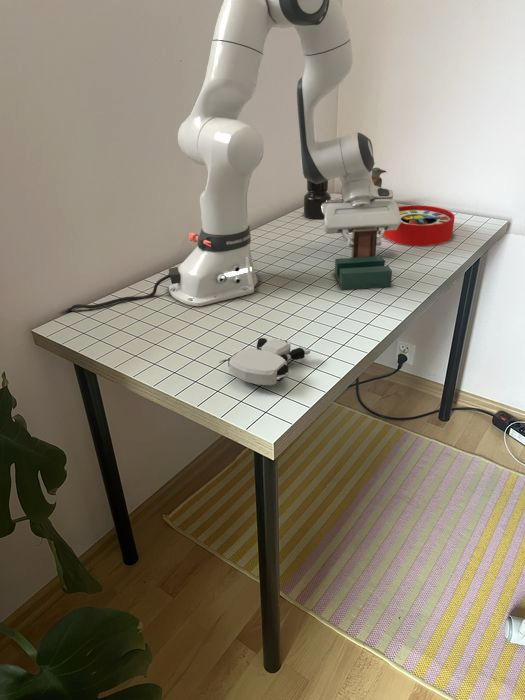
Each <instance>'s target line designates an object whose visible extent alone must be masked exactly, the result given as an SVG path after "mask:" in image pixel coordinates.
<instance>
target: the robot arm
mask: <svg viewBox="0 0 525 700" xmlns="http://www.w3.org/2000/svg"><path fill="white" fill-rule="evenodd" d="M272 28H280V29H290V28H294V29H295V31H296V33H297V34H298V36H299V39H300V45H301V49H302V54H303V59H304V69H303V70H304V71H303V73H302V76H301V77H300V78H299V79H298V81H297V85H296V86H297V87H296V105H297V117H298V130H299V142H300V168H301V169H300V170H301V172H302V175H303V177H304V179H306V181H307V180H309V181H311V182H313V183H315V184H319V183H322V182H325V181H328V182H329V180H333V179H336V178H339V180H340V182H341V188H340V189H341V190H340V193H341V198H338V199H331V200H326V202H324V203H323V204H322V205H321V210H322V214H323V215H324V218H323V231H324V232H325V233H326V234H327V235H333V234H334V235H335V234H341V238H342V239H343V240H344V241H345V242H346V245H347V246H346V247H347V248H352V247H353V246H354V242H353V239H352V238H350V236H349V235H348V234H350V233H351V234H353V229H367V228H376V229H377V235H378V236H377V242H376V247H377V246H378V247H380V246H382V243H383V241H382V237H383V236H384V235H383V233H384V231H388V230H396V229H397V228H398V227H399V225H400V223H401V216H400V212H399V208H398V207H399V205H398V203H397V201H396V200H394V191H393V189H389V188H386V187H382V186H381V187H378V186H375V185H374V183H373V181H372V178H371V176H372V169H373V168H375V167H374V166H375V164H376V163H375V158H374V149H373V143H372V140H371V139H370V138H369V137H368V136H366V135H365V134H363V133H361V132H354V133H353V132H352V133H350V134H345V135H341V136H339V137H335V138H331V139H328V140H323V141H319V140H318V139H317V134H316V133H317V131H316V120H315V119H316V118H315V110H316V107H317V105H318V104H319V102H320V101H321V100H322V99H324V98H325V97H326V96H327V95H329V94H330V93H331V92H333V91H334V90H336V89H337V88H338V87H339V86H340V85H341V84H343V83H344V81H345V80H346V79H347V77H348V76H349V74H350V72H351V71H352V67H353V63H354V59H353V58H354V56H353V47H352V41H351V35H350V31H349V26H348V23H347V19H346V16H345V12H344V9H343V7H342V5H341V2H340V0H223V2H222V4H221V7H220V10H219V13H218V16H217V19H216V23H215V26H214V31H213V36H212V40H211V46H210V52H209V57H208V62H207V66H206V71H205V76H204V80H203V83H202V87H201V90H200V92H199V94H198V97H197V99H196V101H195V103H194V105H193V108H192V110H191V112H190V114H189V115H188V117H187V118H186V119H185V120H184V121H182V123H181V125H180V126H179V128H178V132H177V144H178V147H179V149H180V151H181V152H182V153H183V154H184V156H185V157H187V158H188V159H189V160H191V161H192V162H194V163H195V164H197V165H200V166H204V167H206V170H207V179H206V184H205V188H204V190H203V191H202V192H201V193H200V195H199V207H200V218H201V229H200V232H199V234H198V233H195V232H189V233H188V237H187V238H188V240H189V241H191V242H193V243H196V244H197V246H196V247H195V248H194V249H193V250H192V252H191V253H190V254H189V255H188V256H187V257H186V258H185V259H184V261H183V262H182V263H181V264H180V265H179V266H176V267H169V268H168V273H169V274H167V275H165V276H163V277H161V278H159V279H158V280H157V281H156V282H155V284H154V285H153V288H152V289H153V290H152V291H151V292H150V293H148V294H146V295H142V296H123V297H118V298H115V299H111V300H108V301H104V302H100V303H96V304H83V303H78V304H72V305H73V306H72V305H71V306H72V307H71V308H69V307H67V309H66V310H65V313H70V312H71V311H72V310H74V309H97V308H102V307H106V306H109V305H112V304H115V303H120V302H125V301H136V300H143V299H144V300H145V299H149V298H152V297H153V296H154V295H156V293H157V290H158V286H159V285H160V284H161V283H163V282H164V281H166V280H168V279H170V282H171V284H170V285H169V286H168V291H169V294H170V296H171V297H172V298H174V299H175V300H177V301H178V302H180V303H183V304H185V305H189V306H191V307H203V306H207V305H211V304H215V303H219V302H223V301H226V300H230V299H234V298H238V297H239V298H240V297H243V296H245V295H246V296H247V295H250V294H254V293H255V287H256V285H257V283H258V281H259V280H258V277H257V275H256V270H255V268H254V264H253V259H252V253H251V241H252V238H251V237H252V236H251V227H250V225H249V215H248V192H249V185H250V181H251V178H252V175H253V172H254V171H255V170H256V169H257V168H258V167H259V165H260V164H261V162H262V160H263V157H264V152H265V145H264V140H263V137H262V135H261V134H260V132H259V131H258V130H257V129H256V128H254V127H252V126H251V125H249V124H247V123H246V122H245V121H243V120H238V118H239V116H240V114H241V112H242V110H243V109H244V107H245V105H246V104H247V103H248V102H249V101H251V99H252V98H253V97H254V96H255V93H256V90H257V87H258V83H259V82H258V81H259V77H260V72H261V66H262V63H263V58H264V54H265V53H264V52H265V48H266V41H267V38H268V35H269V33H270V31H271V30H272ZM325 203H326V204H325Z"/></svg>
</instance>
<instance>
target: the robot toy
mask: <svg viewBox="0 0 525 700" xmlns="http://www.w3.org/2000/svg"><path fill="white" fill-rule="evenodd" d="M291 347H292V346H291V341H290V340H285V339H282V338H271V339H268V338H267V337H259V338H258V340H257V342H256V349H255V348H245V349H241V350H239V351H236V352H235V353H234V354H233V355H231V356H229V357H228V358H225V359H220V360H219V361H218V363H219V364H222V363H224V362H227V363H228V364H227V365H228V366H227V367H228V370H229V371H228V372H229V373H230V374H231V375H232V376H234V377H235V378H237V379H239V380H241V381H243V382H245V383H248V384H249V383H250V384H255V385H259V386H272V385H276V384H277V383H280V382H282V381H283V380H284V379H285V378H286V377H289V374H290V373H289V366H288V361H289V360H294V361H298V360H302V359H304V358H305V356H308V355H310V354H311V350H310V349H308V348H307V347H296V348H294V349H292V348H291Z"/></svg>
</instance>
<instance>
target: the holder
mask: <svg viewBox="0 0 525 700" xmlns="http://www.w3.org/2000/svg"><path fill="white" fill-rule="evenodd" d="M392 274H393V270H392V268H391V267H390V265H386V260H385V258H384V257H383V256H382V255H376V256H374V257H357V258H352V257H344V258H342V257H340V258H335V259H334V275H335V278H336V281H337V282H338V285H339V287H340V289H341V290H343V291H344V290H357V289H374V288H375V289H377V288H391V286H392V285H391V284H392Z"/></svg>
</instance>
